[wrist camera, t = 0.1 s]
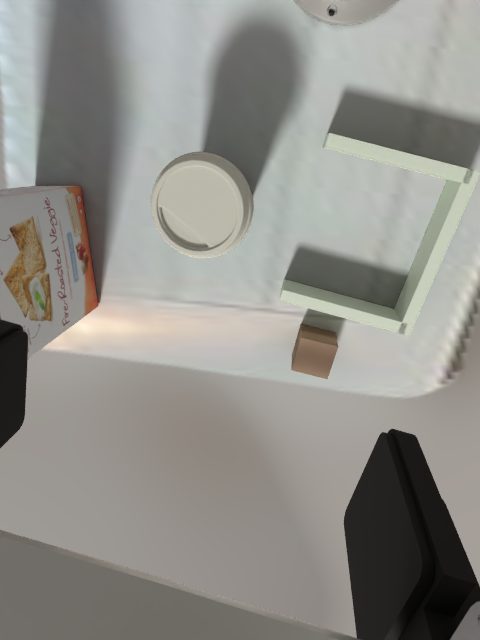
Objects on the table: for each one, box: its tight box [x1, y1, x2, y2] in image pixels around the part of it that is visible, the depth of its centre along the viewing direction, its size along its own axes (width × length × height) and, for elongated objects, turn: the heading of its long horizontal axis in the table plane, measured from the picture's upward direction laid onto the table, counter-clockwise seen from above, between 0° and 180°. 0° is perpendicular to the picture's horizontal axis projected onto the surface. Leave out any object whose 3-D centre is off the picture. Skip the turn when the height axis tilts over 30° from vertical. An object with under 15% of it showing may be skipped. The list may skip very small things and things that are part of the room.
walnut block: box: [292, 324, 338, 379], centre depth 48 cm, size 4×4×4 cm
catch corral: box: [280, 133, 480, 336], centre depth 42 cm, size 16×14×4 cm
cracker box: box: [0, 186, 98, 359], centre depth 39 cm, size 14×6×21 cm, turn 1°
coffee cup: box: [151, 152, 253, 258], centre depth 39 cm, size 8×9×12 cm
